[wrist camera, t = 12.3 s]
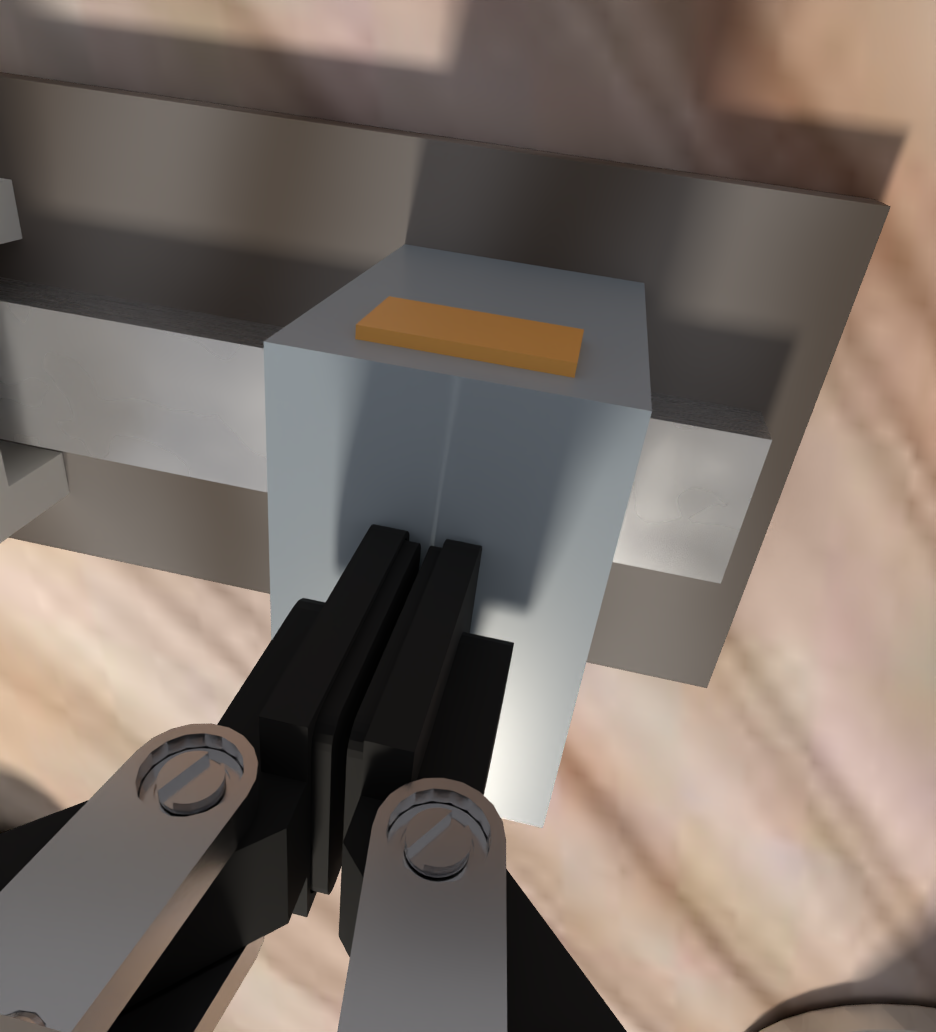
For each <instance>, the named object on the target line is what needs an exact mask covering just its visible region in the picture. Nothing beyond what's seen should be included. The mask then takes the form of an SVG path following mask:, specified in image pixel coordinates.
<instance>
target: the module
mask: <svg viewBox="0 0 936 1032" xmlns="http://www.w3.org/2000/svg"><path fill="white" fill-rule="evenodd" d="M264 377H265V415H266V452H267V490H268V527H269V565H270V602H271V640H272V639H273V637H274V636H275V634H276V633H277V631H278V630H279V628H280V626H281V625H282V623H283V622H284V620H285V619H286V617H287V616H288V614H289V612H290V611H291V609H292V608H293V606H294V605H295V604H296V603H297V601H298V600H300V599H302V598H307V599H312V600H316V601H321V602H326V601H327V599H328V597H329V596H330V594H331V592H332V590H333V589H334V587H335V585H336V584H337V582H338V580H339V578H340V577H341V575H342V573H343V572H344V570H345V568H346V567H347V565H348V563H349V561H350V560H351V558H352V556H353V555H354V553H355V551H356V550H357V548H358V546H359V544H360V543H361V541H362V539H363V538H364V536H365V534H366V533H367V531H368V529H369V528H370V526H371V525H373V524H376V525H381V526H386V527H391V528H396V529H400V530H405V531H408V532H409V535H410V536H409V541H411V542H416V543H420V544H421V554H420V564H419V570H420V567H421V565H422V563H423V560H424V558H425V556H426V553H427V551H428V549H429V547H430V546H436V547H441V548H442V547H443V544H444V542H445V540H446V539H450V540H455V541H460V542H465V543H470V544H475V545H480V546H482V554H481V561H480V568H479V574H478V581H477V588H476V594H475V601H474V608H473V614H472V621H471V628H470V633H471V634H476V635H481V636H485V637H490V638H495V639H500V640H504V641H509V642H514V647H513V653H512V658H511V663H510V668H509V674H508V679H507V684H506V689H505V694H504V699H503V704H502V709H501V714H500V719H499V724H498V729H497V734H496V739H495V744H494V749H493V754H492V759H491V763H490V768H489V773H488V778H487V783H486V788H485V793H484V796H485V797H486V798H487V799H488V800H489V801H490V802H491V803H492V804H493V805H494V807H495V809H496V810H497V812H498V814H499V816H500V818H503V819H507V820H511V821H515V822H519V823H523V824H528V825H532V826H536V827H540V828H543V825H544V822H545V818H546V814H547V810H548V806H549V802H550V799H551V795H552V791H553V787H554V783H555V780H556V776H557V772H558V768H559V764H560V760H561V757H562V753H563V749H564V745H565V741H566V738H567V734H568V730H569V726H570V722H571V718H572V715H573V711H574V707H575V703H576V699H577V696H578V692H579V688H580V684H581V680H582V676H583V673H584V669H585V665H586V661H587V657H588V654H589V650H590V646H591V642H592V638H593V634H594V631H595V627H596V623H597V619H598V615H599V612H600V608H601V604H602V600H603V596H604V592H605V589H606V585H607V581H608V577H609V573H610V570H611V566H612V562H613V558H614V554H615V550H616V547H617V543H618V539H619V535H620V531H621V528H622V524H623V520H624V516H625V512H626V508H627V505H628V501H629V497H630V493H631V489H632V486H633V482H634V478H635V474H636V470H637V466H638V463H639V459H640V455H641V451H642V447H643V444H644V440H645V436H646V432H647V428H648V424H649V421H650V417H651V413H652V404H651V387H650V370H649V353H648V337H647V320H646V303H645V286H644V283H641V282H635V281H629V280H622V279H616V278H610V277H604V276H598V275H591V274H585V273H579V272H573V271H567V270H561V269H554V268H548V267H542V266H536V265H530V264H524V263H517V262H511V261H505V260H499V259H493V258H486V257H480V256H474V255H468V254H462V253H456V252H449V251H443V250H437V249H431V248H425V247H419V246H412V245H406V244H404V245H403V246H402V247H400V248H399V249H397V250H396V251H394V252H393V253H391V254H390V255H388V256H387V257H386V258H384V259H383V260H381V261H380V262H378V263H377V264H375V265H374V266H372V267H371V268H370V269H368V270H367V271H365V272H364V273H362V274H361V275H359V276H358V277H357V278H355V279H354V280H352V281H351V282H349V283H348V284H346V285H345V286H343V287H342V288H341V289H339V290H338V291H336V292H335V293H333V294H332V295H330V296H329V297H327V298H326V299H325V300H323V301H322V302H320V303H319V304H317V305H316V306H314V307H313V308H311V309H310V310H309V311H307V312H306V313H304V314H303V315H301V316H300V317H298V318H297V319H295V320H294V321H293V322H291V323H290V324H288V325H287V326H285V327H284V328H282V329H281V330H280V331H278V332H277V333H275V334H274V335H272V336H271V337H269V338H268V339H266V340H265V341H264Z"/></svg>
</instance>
